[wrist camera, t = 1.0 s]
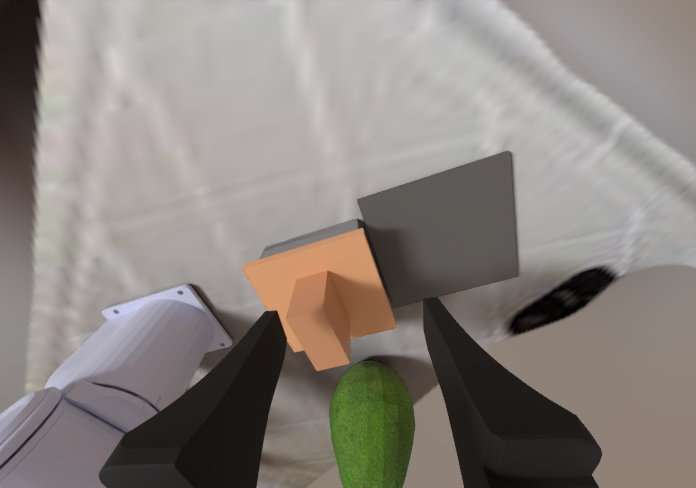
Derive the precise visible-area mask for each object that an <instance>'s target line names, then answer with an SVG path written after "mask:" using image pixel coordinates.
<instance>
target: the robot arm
mask: <svg viewBox="0 0 696 488" xmlns="http://www.w3.org/2000/svg"><path fill="white" fill-rule="evenodd" d="M180 290H181V291H182V292H181V291H180ZM102 314H103V316H104V317H105V318H106V319H107V320H108V321H107V322H106V323H105V324H104V325H102V326H101V327H100V328H99V329H98V330H97V331H96V332H95V333H94V334H93V335H92V336H91V337H90V338H89V339H88V340H87V341H86V342H85V343H84V344H83V345H82V346H81V347H80V348H78V349H77V350H76V351H75V352H74V353H73V354H72V355H71V356H70V357H69V358H68V359H67V360H66V361H65V362H64V363H63V364H62V365H61V366H60V367H59V368H58V369H57V370H56V371H55V372H54V373H53V374H52V376H51V377H50V379H49V380H48V382H47V384H46V386H45V389H43V390H39V391H34V392H32V393H29V394H28V395H26V396H24V397H23V398H21V399H20V400H19V401H17V402H16V403H14V404H13V405H12V406H10V407H9V408H8V409H7V410H5V411H4V412H3V413H1V414H0V488H256V486H257V479H258V472H259V465H260V458H261V452H262V447H263V441H264V435H265V430H266V424H267V419H268V414H269V410H270V406H271V402H272V399H273V395H274V392H275V388H276V385H277V382H278V378H279V375H280V371H281V368H282V364H283V361H284V356H285V350H286V343H287V337H286V334H285V331H284V329H283V326H282V323H281V320H280V317H279V314H278V311H277V310H275V311H265V312H264V313H263V315H262V316H261V317H260V318H259V319H258V321H257V322H256V323H255V324H254V325H253V326H252V328H251V329H250V330H249V331H248V332H247V334H246V335H245V336H244V337H243V338H242V339H241V340H240V342H239V343H238V344H237V345H236V346H235V347H234V348H233V349H232V350H231V351H230V352H229V353H228V355H227V356H226V357H225V358H224V359H223V360H222V361H221V362H220V363H219V364H218V365H217V366H216V367H215V368H214V369H213V370H211V371H210V372H209V373H208V374H207V375H206V376H205V377H204V378H203V379H201V380H200V381H199V382H198V383H197V384H195V385H194V386H193V387H192V388H190V389H189V390H188V391H187V392H186V393H184V392H185V391H186V389H187V387H188V385H189V383H190V381H191V380H192V378H193V376H194V374H195V372H196V370H197V368H198V367H199V365H200V363H201V361H202V359H203V357H204V355H205V354H206V353H207V352H211V351H215V350H219V349H223V348H227V347H230V346H231V345H232V343H233V341H232V339H231V338H230V337H229V335H228V334H227V333H226V331H225V330H224V329H223V327H222V326H221V325H220V323H219V322H218V321H217V319H216V318H215V317H214V316H213V314H212V313H211V312H210V310H209V309H208V308H207V306H206V305H205V304H204V302H203V301H202V300H201V299H200V297H199V296H198V295H197V293H196V292H195V291H194V289H193V288H192V287H191V286H190V285H187V284H185V285H181V286H178V287H174V288H171V289H168V290H165V291H161V292H158V293H155V294H151V295H148V296H145V297H141V298H138V299H135V300H132V301H128V302H125V303H122V304H118V305H115V306H112V307H109V308H106V309H104V310H103V311H102ZM423 319H424V333H425V338H426V343H427V347H428V351H429V354H430V357H431V360H432V363H433V366H434V369H435V372H436V375H437V378H438V381H439V384H440V387H441V390H442V393H443V397H444V400H445V403H446V408H447V412H448V416H449V420H450V424H451V429H452V433H453V438H454V442H455V447H456V451H457V455H458V460H459V465H460V470H461V474H462V479H463V484H464V488H599V487H598V485H597V483H596V482H595V480H594V478H593V476H592V473H593V471H594V470H595V469H596V467H597V465H598V464H599V462H600V459H601V456H602V452H601V448H600V447H599V445H598V444H597V442H596V441H595V439H594V438H593V436H592V435H591V434H590V432H589V431H588V430H587V428H586V427H585V426H584V424H583V423H582V422H581V421H580V420H579V418H578V417H577V416H576V415H575V414H572V413H571V412H570V411H568V410H566V409H565V408H563V407H561V406H559V405H558V404H556V403H554V402H553V401H551V400H549V399H548V398H546V397H545V396H543V395H542V394H540V393H538V392H537V391H536V390H534V389H532V388H531V387H530V386H528V385H527V384H526V383H524V382H523V381H521V380H520V379H519V378H517V377H516V376H515V375H513V374H512V373H510V372H509V371H508V370H507V369H505V368H504V367H503V366H502V365H501V364H499V363H498V362H497V361H496V360H495V359H493V358H492V357H491V356H490V355H489V354H488V353H487V352H486V351H484V350H483V349H482V348H481V347H480V346H479V345H478V344H477V343H476V342H475V341H474V340H473V339H472V338H471V337H470V336H469V335H468V334H467V333H466V332H465V330H464V329H463V328H462V327H461V326H460V325H459V324H458V323H457V322H456V320H455V319H454V318H453V317H452V316H451V314H450V313H449V312H448V311H447V309H446V308H445V307H444V305H443V304H442V303H441V301H440V300H439V299H438V298H437V297H431V298H423Z"/></svg>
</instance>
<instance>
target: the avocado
mask: <svg viewBox="0 0 696 488" xmlns="http://www.w3.org/2000/svg"><path fill="white" fill-rule="evenodd" d="M329 417H330V428H331V440H332V444H333V448H334V452H335V456H336V460H337V464H338V468H339V473H340V478H341V481H342V484H343V487H344V488H402V487H403V484H404V481H405V477H406V473H407V468H408V464H409V460H410V455H411V451H412V445H413V438H414V431H415V419H414V410H413V403H412V399H411V395H410V393H409V391H408V389H407V387H406V385H405V383H404V381H403V379H402V377H401V376H400V375H399V374H398V373H397V372H396V371H394V370H393V369H391V368H390V367H388V366H387V365H384V364H382V363H379V362H376V361H361V362H359V363H357V364H355V365H353V366H351V367H350V368H349V369H348V370H347V371H346V372H345V374H344V375H343V376H342V378H341V379H340V381H339V383H338V384H337V386H336V389H335V392H334V395H333V397H332V400H331V404H330V412H329Z"/></svg>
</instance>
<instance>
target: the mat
mask: <svg viewBox="0 0 696 488" xmlns="http://www.w3.org/2000/svg"><path fill="white" fill-rule="evenodd" d="M357 201H358V204H359V207H360V210H361V213H362V216H363V219H364V222H365V225H366V228H367V231H368V234H369V236H370V239H371V242H372V245H373V248H374V251H375V254H376V257H377V260H378V263H379V266H380V268H381V271H382V274H383V277H384V280H385V283H386V286H387V289H388V292H389V295H390V298H391V301H392V303H393V306H394V308H396V307H400V306H404V305H408V304H412V303H415V302H419V301H423V298H431V297H439V296H443V295H447V294H451V293H455V292H459V291H463V290H467V289H471V288H475V287H479V286H483V285H487V284H491V283H494V282H498V281H502V280H506V279H510V278H514V277H518V271H517V255H516V238H515V221H514V205H513V188H512V172H511V155H510V152H509V151H506V152H502V153H499V154H496V155H493V156H490V157H487V158H484V159H481V160H478V161H475V162H471V163H468V164H465V165H462V166H459V167H456V168H453V169H450V170H447V171H444V172H441V173H437V174H434V175H431V176H428V177H425V178H422V179H419V180H416V181H413V182H410V183H407V184H403V185H400V186H397V187H394V188H391V189H388V190H385V191H382V192H379V193H376V194H372V195H369V196H366V197H363V198H360V199H357Z"/></svg>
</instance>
